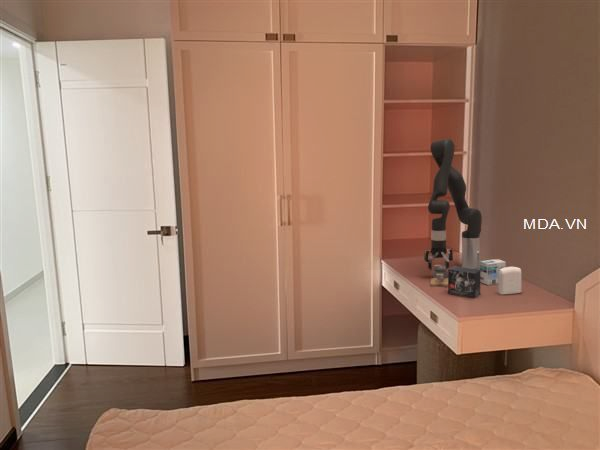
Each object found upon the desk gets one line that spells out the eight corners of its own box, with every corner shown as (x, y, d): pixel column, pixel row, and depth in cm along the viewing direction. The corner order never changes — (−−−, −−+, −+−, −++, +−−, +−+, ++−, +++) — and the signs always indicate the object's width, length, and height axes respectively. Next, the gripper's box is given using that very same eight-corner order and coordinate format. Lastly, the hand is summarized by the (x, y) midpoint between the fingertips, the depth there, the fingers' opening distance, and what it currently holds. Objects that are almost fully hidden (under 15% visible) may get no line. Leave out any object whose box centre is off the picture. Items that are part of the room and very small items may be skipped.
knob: (443, 276, 254) (443, 263, 253) (447, 279, 248) (447, 265, 247) (432, 276, 253) (432, 263, 252) (436, 279, 248) (436, 266, 246)
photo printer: (501, 295, 218) (501, 269, 216) (496, 292, 222) (496, 266, 220) (522, 293, 219) (523, 267, 217) (517, 290, 223) (518, 265, 221)
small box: (447, 293, 225) (447, 269, 223) (454, 290, 230) (453, 265, 228) (475, 298, 216) (475, 273, 214) (481, 294, 221) (481, 269, 219)
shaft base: (453, 280, 244) (453, 271, 244) (453, 287, 234) (453, 277, 233) (431, 280, 248) (430, 271, 247) (430, 286, 237) (430, 277, 237)
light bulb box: (487, 285, 234) (487, 264, 232) (478, 281, 240) (479, 261, 239) (506, 282, 237) (506, 261, 235) (497, 279, 243) (497, 258, 241)
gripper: (449, 236, 252) (449, 266, 254) (422, 237, 251) (422, 267, 254) (454, 239, 244) (454, 270, 247) (427, 240, 244) (427, 271, 246)
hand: (438, 269), depth 250 cm, fingers open, 8 cm apart
